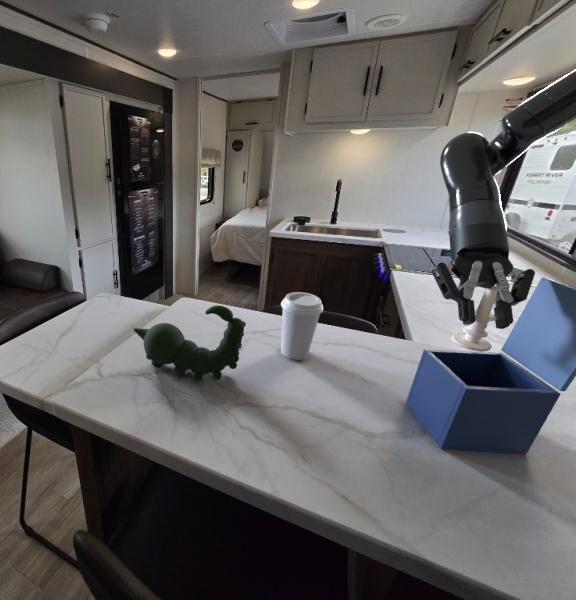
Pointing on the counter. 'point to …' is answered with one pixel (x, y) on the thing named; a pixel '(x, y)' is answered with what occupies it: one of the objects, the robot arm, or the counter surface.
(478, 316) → the cream chess piece
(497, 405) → the case
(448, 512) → the counter surface
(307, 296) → the coffee cup
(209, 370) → the toy figurine
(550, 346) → the lid
